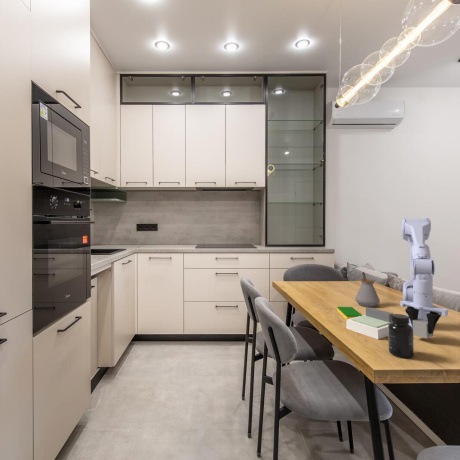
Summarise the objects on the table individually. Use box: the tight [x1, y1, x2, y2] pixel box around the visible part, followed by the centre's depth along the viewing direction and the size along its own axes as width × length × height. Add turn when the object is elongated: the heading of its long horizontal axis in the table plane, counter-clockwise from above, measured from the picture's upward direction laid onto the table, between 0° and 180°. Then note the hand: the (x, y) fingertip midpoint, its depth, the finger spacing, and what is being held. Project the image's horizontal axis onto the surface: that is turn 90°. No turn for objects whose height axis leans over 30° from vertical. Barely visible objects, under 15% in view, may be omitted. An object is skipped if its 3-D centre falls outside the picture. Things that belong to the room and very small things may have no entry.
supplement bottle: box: [387, 313, 415, 359], centre depth 89 cm, size 7×7×12 cm
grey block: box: [413, 318, 434, 339], centre depth 100 cm, size 4×4×5 cm
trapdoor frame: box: [345, 314, 388, 340], centre depth 110 cm, size 14×13×4 cm
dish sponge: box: [336, 306, 363, 321], centre depth 129 cm, size 7×14×2 cm, turn 175°
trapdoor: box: [352, 307, 394, 328], centre depth 110 cm, size 11×10×4 cm
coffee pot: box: [354, 271, 381, 308], centre depth 150 cm, size 21×12×15 cm, turn 162°
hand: (422, 330), depth 100 cm, fingers closed on grey block, 4 cm apart
